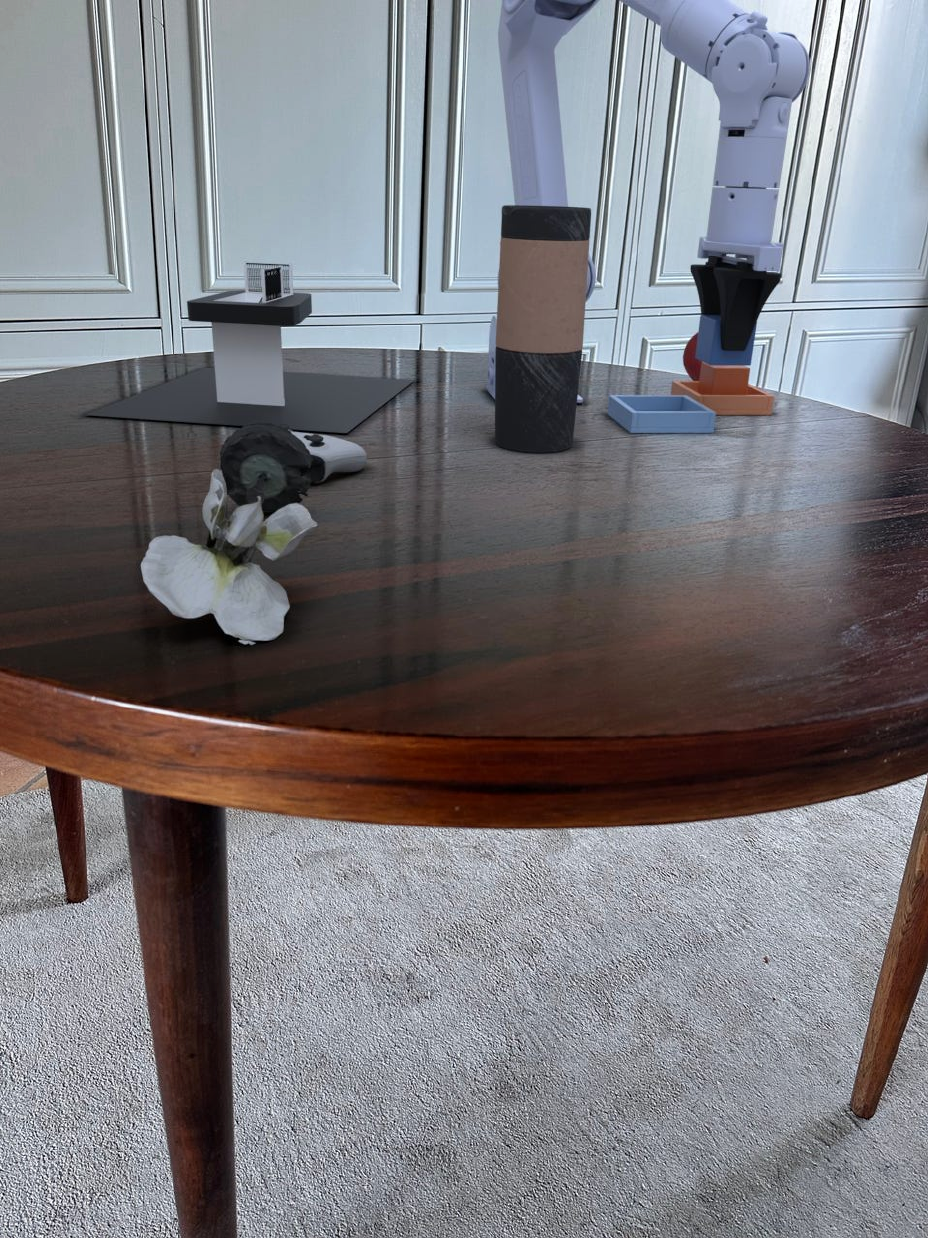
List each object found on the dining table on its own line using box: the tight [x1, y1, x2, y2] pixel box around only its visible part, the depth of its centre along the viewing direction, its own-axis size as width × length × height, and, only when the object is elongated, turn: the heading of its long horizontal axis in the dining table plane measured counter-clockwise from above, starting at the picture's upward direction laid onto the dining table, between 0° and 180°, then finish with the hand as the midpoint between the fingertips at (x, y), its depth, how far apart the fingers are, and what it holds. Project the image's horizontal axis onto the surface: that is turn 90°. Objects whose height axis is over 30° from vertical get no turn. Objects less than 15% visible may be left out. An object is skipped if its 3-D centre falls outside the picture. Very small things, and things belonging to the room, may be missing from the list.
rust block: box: [698, 362, 751, 395], centre depth 107 cm, size 4×4×4 cm
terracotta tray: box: [670, 380, 775, 416], centre depth 108 cm, size 8×8×2 cm
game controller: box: [278, 424, 368, 484], centre depth 79 cm, size 10×5×6 cm
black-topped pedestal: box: [85, 260, 415, 434], centre depth 103 cm, size 28×26×13 cm
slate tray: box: [606, 394, 717, 434], centre depth 99 cm, size 8×8×2 cm
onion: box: [682, 331, 703, 381], centre depth 116 cm, size 6×6×8 cm
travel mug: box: [494, 204, 592, 454], centre depth 86 cm, size 8×8×20 cm
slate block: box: [695, 314, 758, 367], centre depth 92 cm, size 4×4×4 cm
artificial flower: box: [140, 423, 318, 646], centre depth 58 cm, size 9×22×10 cm, turn 179°
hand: (724, 346), depth 93 cm, fingers closed on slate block, 4 cm apart
